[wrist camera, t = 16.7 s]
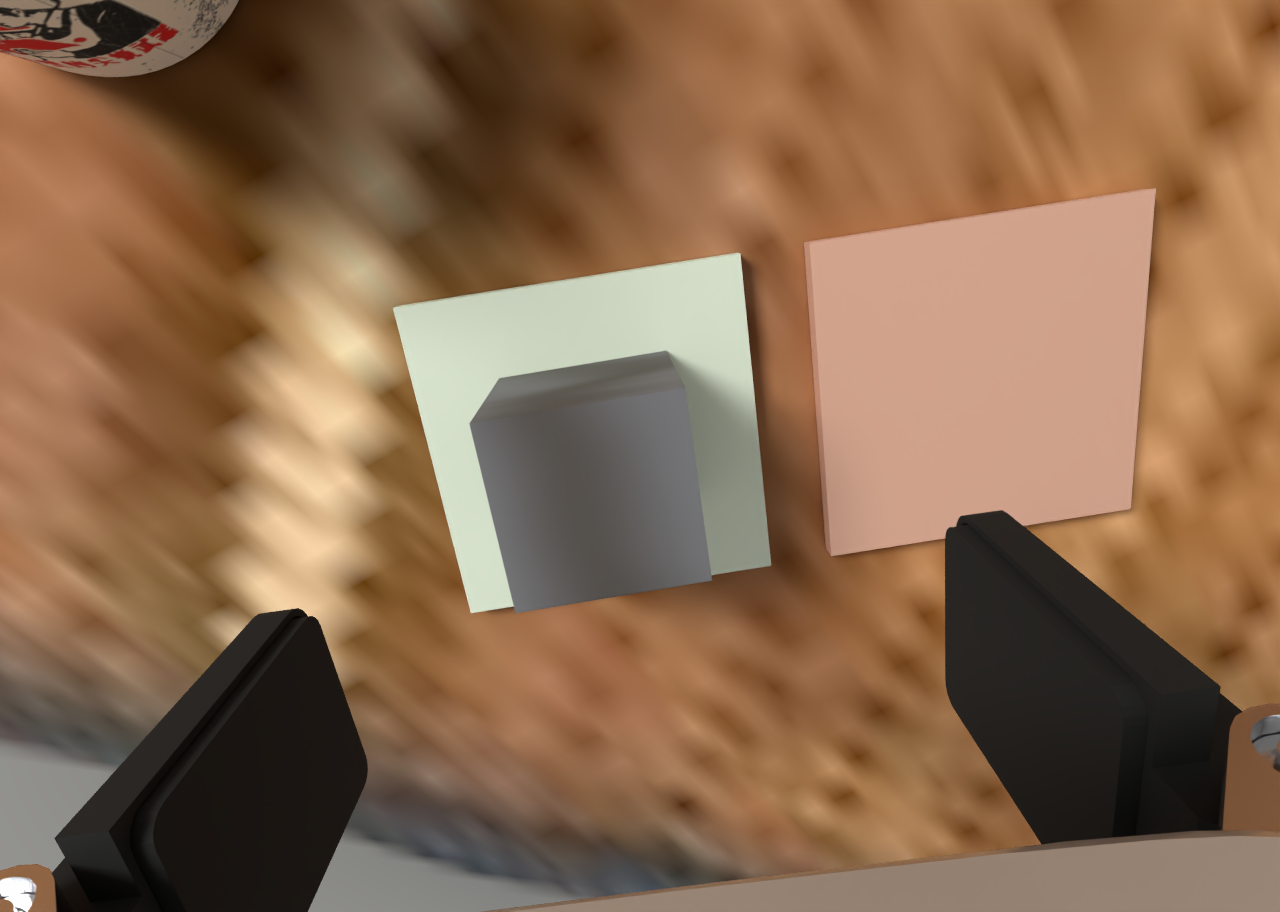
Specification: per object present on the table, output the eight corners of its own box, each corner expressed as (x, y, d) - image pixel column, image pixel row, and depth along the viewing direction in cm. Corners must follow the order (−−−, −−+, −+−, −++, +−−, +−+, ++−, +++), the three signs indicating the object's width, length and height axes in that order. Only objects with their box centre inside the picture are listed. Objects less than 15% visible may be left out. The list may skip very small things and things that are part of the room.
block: (666, 350, 21) (685, 387, 16) (688, 505, 23) (712, 580, 18) (499, 378, 21) (469, 423, 16) (533, 531, 23) (515, 613, 18)
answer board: (1140, 189, 21) (1155, 188, 20) (1118, 502, 24) (1130, 509, 23) (398, 305, 21) (393, 307, 20) (474, 603, 24) (470, 612, 23)
